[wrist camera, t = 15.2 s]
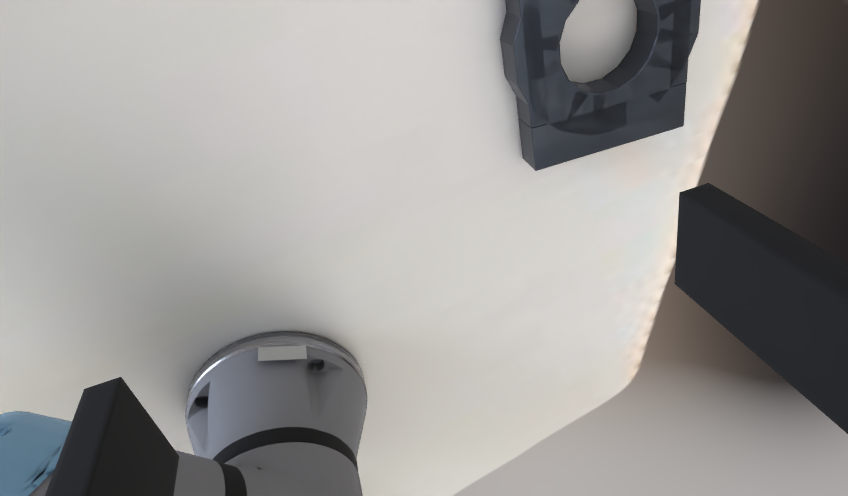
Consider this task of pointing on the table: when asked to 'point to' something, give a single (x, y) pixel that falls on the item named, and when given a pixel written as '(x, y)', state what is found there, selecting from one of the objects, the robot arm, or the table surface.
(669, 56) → the plate
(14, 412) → the robot arm
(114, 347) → the table surface
